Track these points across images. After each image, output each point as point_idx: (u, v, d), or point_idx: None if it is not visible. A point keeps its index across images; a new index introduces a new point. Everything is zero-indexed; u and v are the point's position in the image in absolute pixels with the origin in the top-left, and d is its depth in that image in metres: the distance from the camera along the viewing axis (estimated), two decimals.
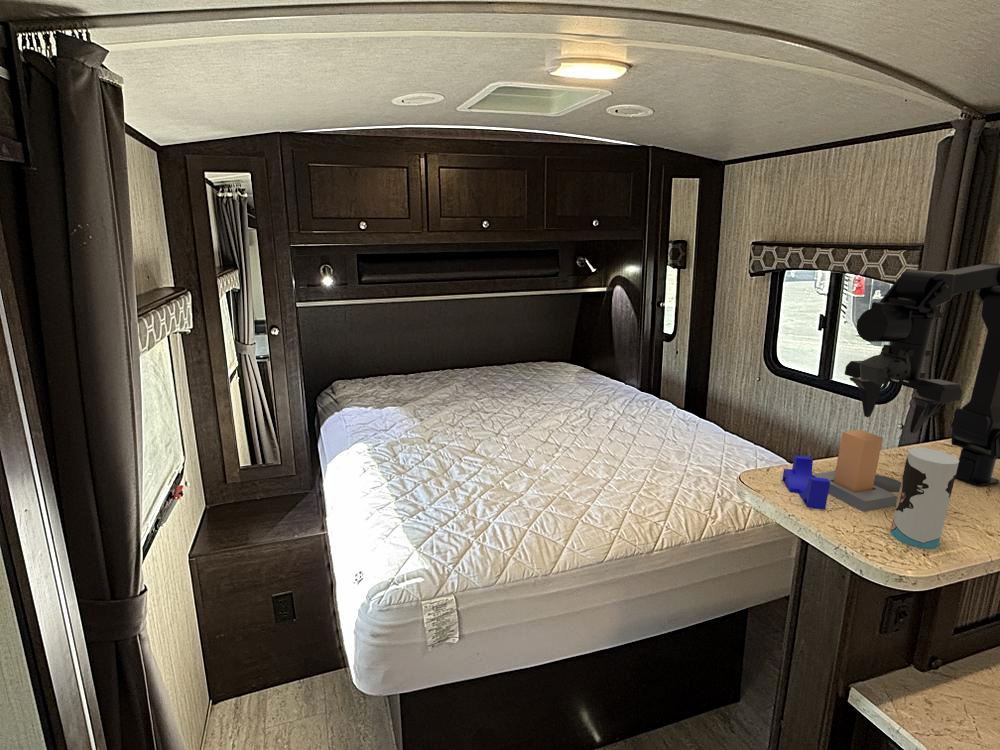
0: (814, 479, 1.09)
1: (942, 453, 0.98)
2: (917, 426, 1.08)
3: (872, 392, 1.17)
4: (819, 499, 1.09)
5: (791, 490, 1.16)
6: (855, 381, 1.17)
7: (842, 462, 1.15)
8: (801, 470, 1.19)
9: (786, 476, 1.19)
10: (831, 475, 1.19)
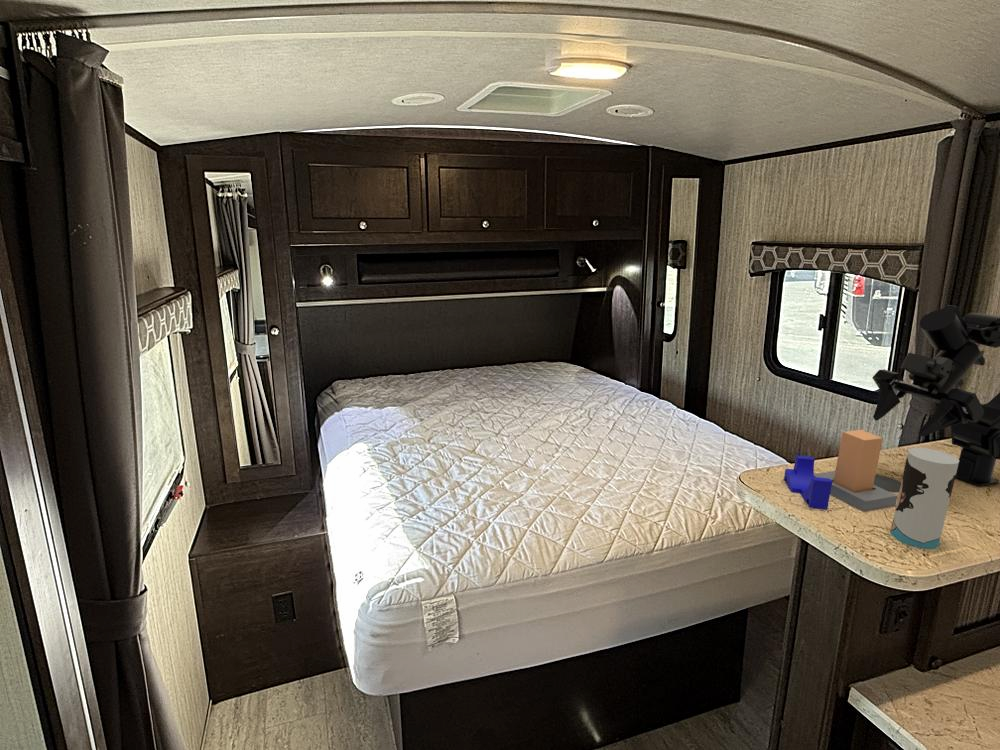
0: (816, 479, 1.09)
1: (942, 453, 0.98)
2: (927, 430, 1.11)
3: (889, 401, 1.20)
4: (821, 499, 1.09)
5: (793, 490, 1.16)
6: (882, 383, 1.21)
7: (842, 462, 1.15)
8: (803, 470, 1.19)
9: (788, 476, 1.19)
10: (831, 475, 1.19)
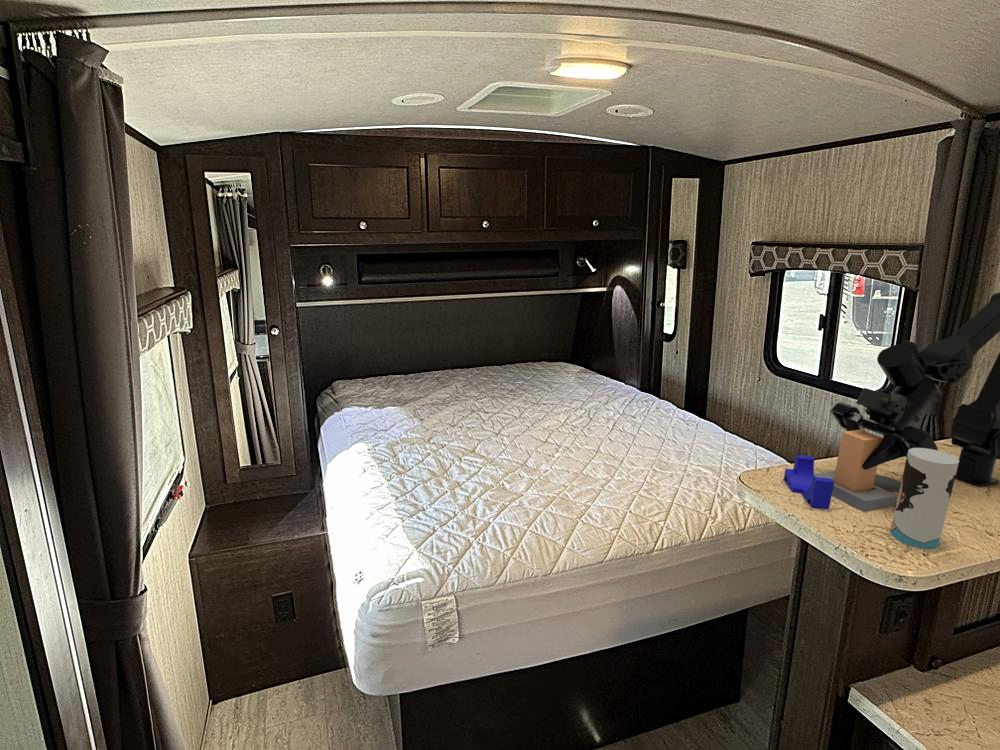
0: (818, 479, 1.09)
1: (942, 453, 0.98)
2: (871, 463, 1.11)
3: None
4: (823, 499, 1.09)
5: (794, 490, 1.16)
6: (848, 420, 1.17)
7: (842, 462, 1.15)
8: (803, 470, 1.19)
9: (788, 476, 1.19)
10: (831, 475, 1.19)
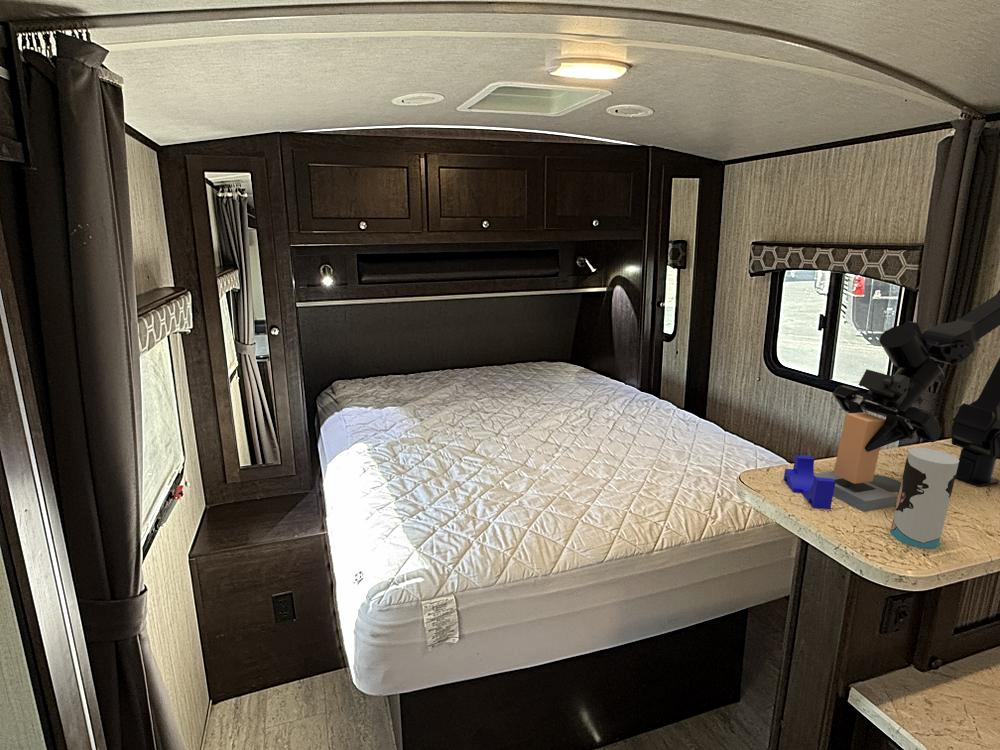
0: (819, 480, 1.09)
1: (942, 453, 0.98)
2: (873, 445, 1.10)
3: None
4: (824, 499, 1.09)
5: (794, 490, 1.16)
6: (851, 403, 1.16)
7: (845, 444, 1.14)
8: (803, 470, 1.19)
9: (788, 476, 1.19)
10: (831, 475, 1.19)
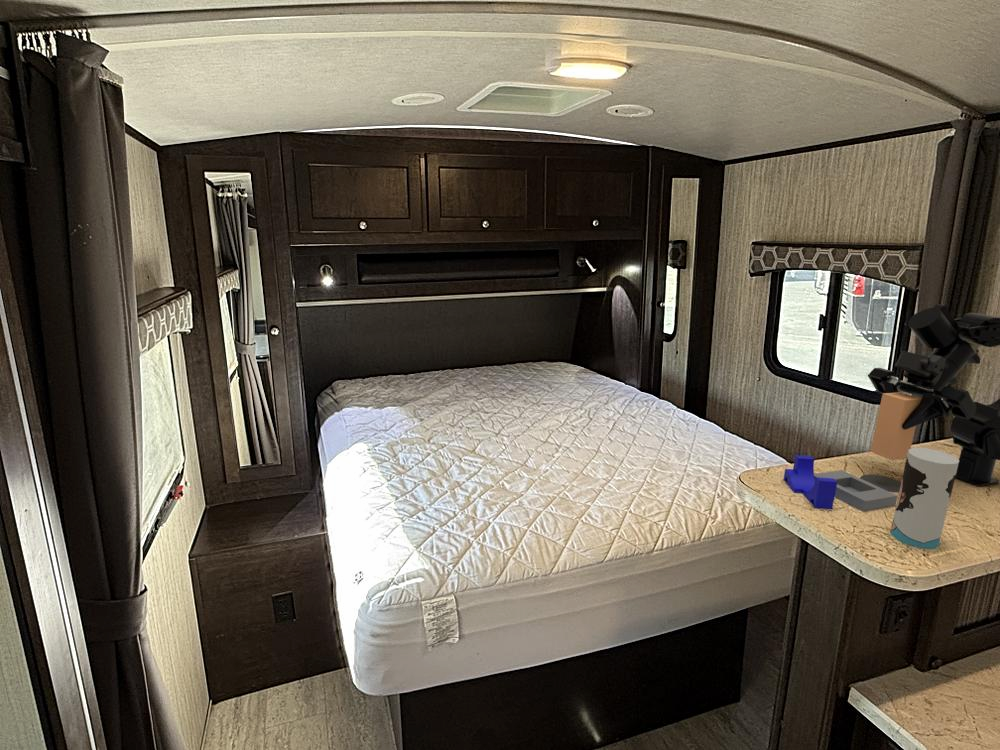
0: (821, 480, 1.09)
1: (942, 453, 0.98)
2: (910, 423, 1.15)
3: None
4: (826, 499, 1.09)
5: (795, 491, 1.16)
6: (887, 383, 1.21)
7: (882, 422, 1.19)
8: (803, 470, 1.19)
9: (788, 476, 1.19)
10: (831, 475, 1.19)
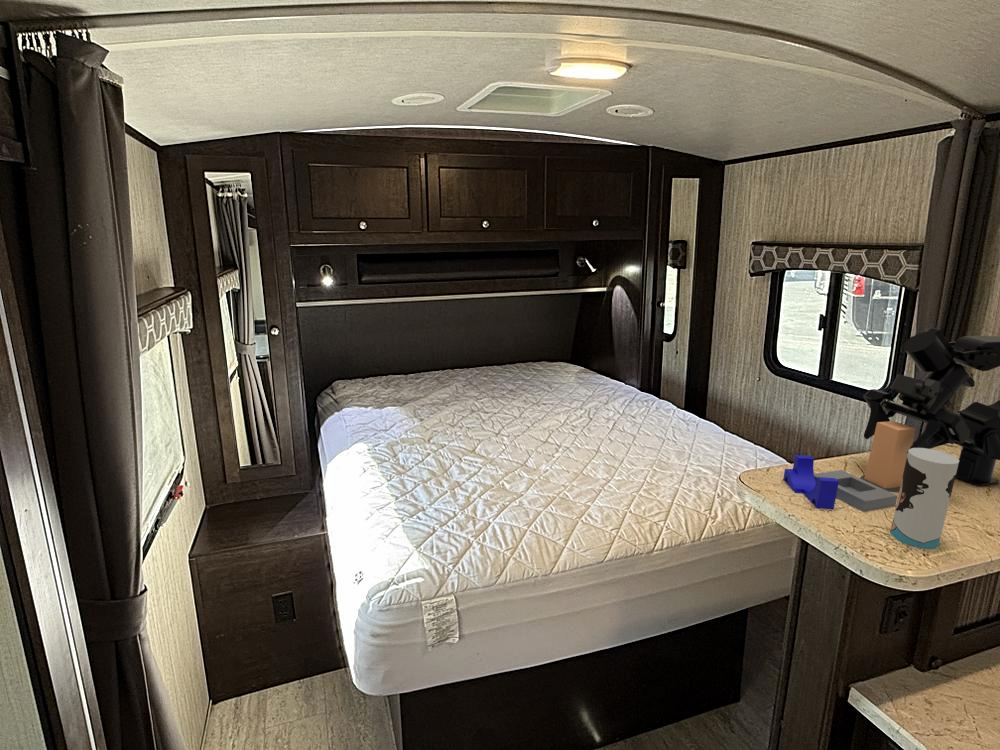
0: (823, 480, 1.09)
1: (942, 453, 0.98)
2: None
3: (879, 421, 1.24)
4: (828, 499, 1.09)
5: (796, 490, 1.16)
6: (872, 402, 1.24)
7: (876, 451, 1.20)
8: (803, 470, 1.19)
9: (789, 476, 1.19)
10: (831, 475, 1.19)
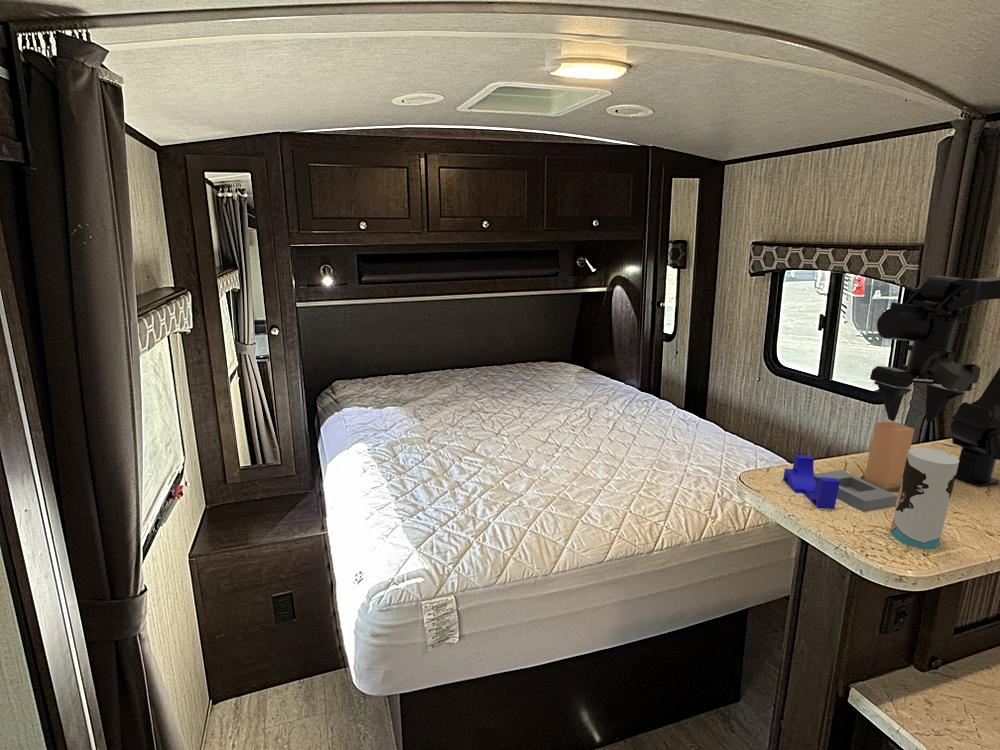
0: (824, 480, 1.09)
1: (942, 453, 0.98)
2: None
3: None
4: (829, 499, 1.09)
5: (796, 490, 1.16)
6: (904, 390, 1.14)
7: (875, 452, 1.20)
8: (803, 469, 1.19)
9: (789, 476, 1.19)
10: (831, 475, 1.19)
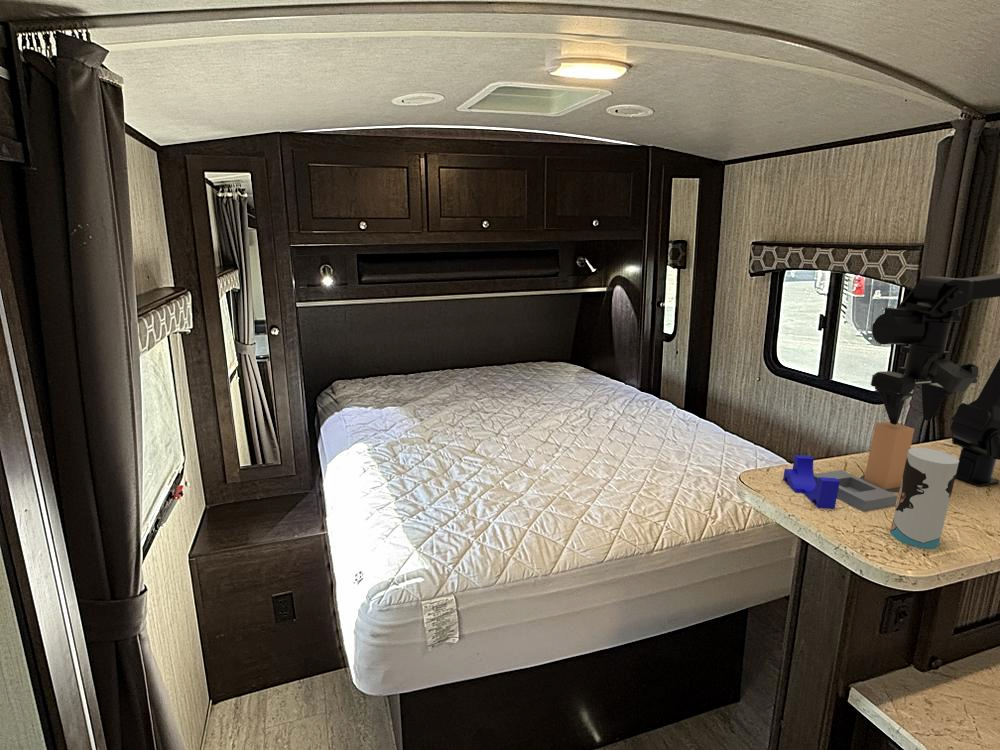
0: (824, 480, 1.09)
1: (942, 453, 0.98)
2: None
3: None
4: (829, 499, 1.10)
5: (796, 491, 1.16)
6: (907, 396, 1.13)
7: (875, 452, 1.20)
8: (803, 470, 1.19)
9: (789, 476, 1.19)
10: (831, 475, 1.19)
